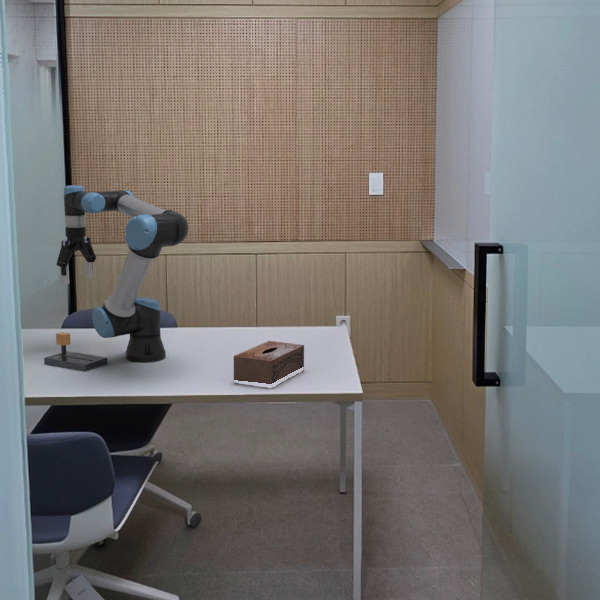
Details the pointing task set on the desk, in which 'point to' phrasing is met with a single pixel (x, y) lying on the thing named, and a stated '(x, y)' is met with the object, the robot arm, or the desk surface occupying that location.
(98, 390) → the desk surface
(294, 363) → the tissue box cover
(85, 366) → the panel
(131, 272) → the robot arm
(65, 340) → the dimmer fader
